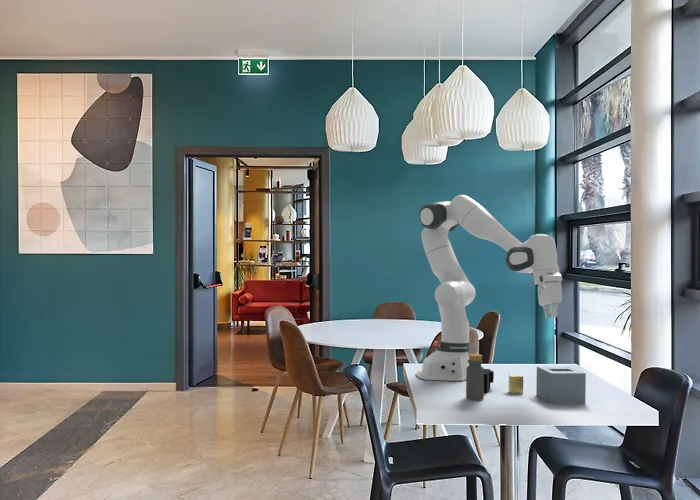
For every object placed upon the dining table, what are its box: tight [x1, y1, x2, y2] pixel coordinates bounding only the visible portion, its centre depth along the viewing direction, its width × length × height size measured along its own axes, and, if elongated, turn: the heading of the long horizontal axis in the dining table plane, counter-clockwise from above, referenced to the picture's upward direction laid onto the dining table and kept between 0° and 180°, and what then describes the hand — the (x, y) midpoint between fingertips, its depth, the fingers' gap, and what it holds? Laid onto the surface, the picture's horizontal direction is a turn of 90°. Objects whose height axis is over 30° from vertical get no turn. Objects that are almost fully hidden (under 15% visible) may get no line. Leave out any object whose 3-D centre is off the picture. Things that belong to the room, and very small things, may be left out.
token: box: [508, 374, 524, 394], centre depth 211 cm, size 4×2×6 cm, turn 95°
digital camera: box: [483, 368, 495, 394], centre depth 214 cm, size 10×5×7 cm, turn 160°
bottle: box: [465, 353, 485, 402], centre depth 200 cm, size 6×6×15 cm
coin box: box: [536, 366, 587, 404], centre depth 202 cm, size 12×12×10 cm
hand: (551, 317), depth 206 cm, fingers open, 8 cm apart
